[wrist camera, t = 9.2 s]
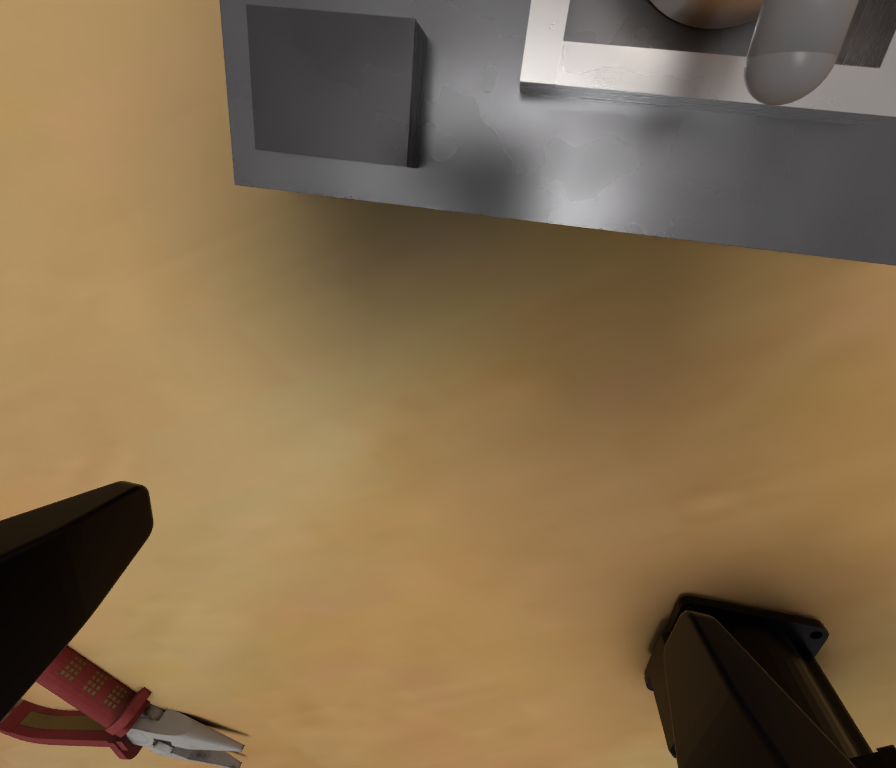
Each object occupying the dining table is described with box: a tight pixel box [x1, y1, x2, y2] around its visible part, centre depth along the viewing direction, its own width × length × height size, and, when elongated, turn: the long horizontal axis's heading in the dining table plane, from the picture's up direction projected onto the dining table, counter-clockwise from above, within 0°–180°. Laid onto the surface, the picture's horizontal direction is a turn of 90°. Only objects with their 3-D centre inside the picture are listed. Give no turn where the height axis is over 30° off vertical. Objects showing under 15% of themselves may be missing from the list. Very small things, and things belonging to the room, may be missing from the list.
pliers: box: [0, 646, 245, 768], centre depth 32 cm, size 12×20×3 cm, turn 74°
